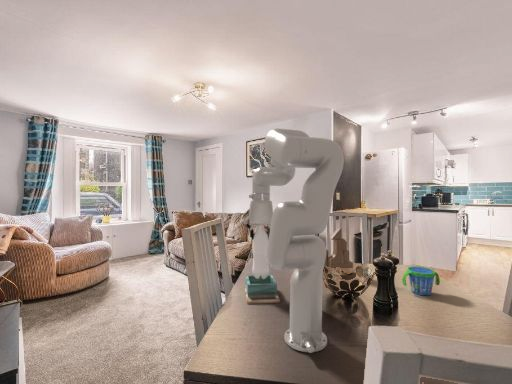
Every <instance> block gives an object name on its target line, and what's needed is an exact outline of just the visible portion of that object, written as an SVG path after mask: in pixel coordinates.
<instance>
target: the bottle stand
mask: <svg viewBox="0 0 512 384" xmlns="http://www.w3.org/2000/svg"><path fill="white" fill-rule="evenodd" d="M244 292H245V299H246V304H247V305H250V304H255V305H256V304H273V303H275V304H276V303H280V302H281V300H280V297H279V296H278V283H277V282H276V279H275V278H274V276H273V274H268V276H267V277H266V278H265V279H262V277H261V276H260V278H259V279H256V278H255V277H254V275H253V274H252V275H250V274H247V275H245V286H244Z"/></svg>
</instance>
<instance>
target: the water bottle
mask: <svg viewBox="0 0 512 384" xmlns="http://www.w3.org/2000/svg"><path fill="white" fill-rule="evenodd" d="M255 225H256V228H255V230H254V239H253V240H252V239H251V240H252V249H251V250H252V251H251V252H252V259H253V261H252V269H251V271H252V272H251V273H252V275H254V277H255V278H256V279H259V278H260V276H261V277H262V279H265V278H266V277H267V276H268V275H270V274H269V273H270V267H269V262H268V258H267V248H268V240H269V238H268V232H267V231H266V229H265V224H255Z"/></svg>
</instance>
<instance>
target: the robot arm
mask: <svg viewBox="0 0 512 384" xmlns="http://www.w3.org/2000/svg"><path fill="white" fill-rule="evenodd" d="M264 150H265V151H264V152H265V153H266V154H267V156H268V157H269V158H270V160H271V161H270V162H271V164H272V166H271V167H270V166H269V167H268V166H261V167H257V168H255V169H253V171H252V177H251V178H252V180H251V181H252V193H251V194H249V195H248V198H249V199H251V200H250V204H249V210H248V211H249V214H248V215H247V216H246V217H245V218H244V219H243V220H242V223H243V224H244V225H245V226H246V228H248V229H249V237H250V238H251V240H253V239H254V232H255V230H254V227H255V225H256V224H264V225H267V227H268V229H267V235H268V238H269V240H268V248H267V258H268V265H269V266H270V268H272V269H273V270H276V271H288V270H293V272H292V274H291V276H290V280H289V328H288V329H287V330H286V331H285V332H284V333H283V334H284V335H283V336H284V339H283V340H284V342H285V343H286V344H287V346H289V347H290V348H292V349H293V350H295V351H299V352H303V353H309V354H313V353H316V352H319V351H323V349H326V347H327V346H328V338H327V335H326V334H325V333H324V332H323V326H322V325H323V279H324V278H323V277H324V274H323V269H324V263H325V259H326V249H327V247H326V243H325V241H324V240H323V239H322V238H321V237H320V236H317V235H319V234H322V233H324V231H325V230H326V228H327V225H328V222H329V217H330V213H331V209H332V204H333V201H334V195H335V190H336V188H337V184H338V182H339V180H340V177H341V175H342V172H343V169H344V163H345V162H344V161H345V158H344V152H343V148H342V147H341V146H340V144H339V143H337V142H336V141H334V140H332V139H328V138H322V137H310V136H309V134H307V133H306V132H305V131H303V130H298V129H286V128H274V129H271V130H270V131H269V132H268V133H267V134H266V136H265V138H264ZM296 168H297V169H298V168H299V169H301V168H302V169H315V170H314V171H313V172H312V173H311V174H310V175H309V176H308V178H307V179H306V180H305V181H304V183H303V186H302V191H301V196H300V199H299V200H297V201H283V202H280V203H279V204H277V205H276V206H275V208H274V209H273V207H274V206H273V202H272V200H271V198H270V197H271V187H273V186H274V187H275V186H277V187H283V186H287V185H289V183H290V182H291V181H292V180H293V179H294V177H295V175H296ZM248 220H249V222H248Z"/></svg>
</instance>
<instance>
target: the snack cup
mask: <svg viewBox="0 0 512 384" xmlns="http://www.w3.org/2000/svg"><path fill="white" fill-rule="evenodd" d="M406 269H407V270H405V271H404V273H403V275H402V281H401V282H402V285H403V286H405V287H407V281H406V278H407V277H408V279H409V280H408V281H409V286H410V290H411V292H412V293H414V294H416V295H418V296H424V295H426V296H431V294H432V291H433V287H434V286H433V285H436V286H440V283H441V280H440V275H439V274H438V272H436V271H435V270H434V269H431V268H429V267H424V266H408V267H407V268H406ZM434 279H435V280H434Z"/></svg>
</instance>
